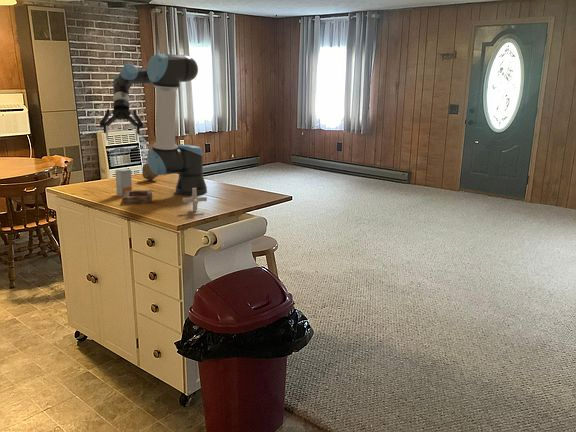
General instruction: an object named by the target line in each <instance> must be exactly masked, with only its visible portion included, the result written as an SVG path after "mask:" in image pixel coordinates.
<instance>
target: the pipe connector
mask: <svg viewBox="0 0 576 432" xmlns="http://www.w3.org/2000/svg"><path fill="white" fill-rule="evenodd" d="M190 196H191V197H183V198H182V203H192V212H193V211H196V210H197V211H198V204H199V202H207V201H208V200H207V199H208V197H207V196H201V197H199V196H198V195H197V188H192V195H190Z"/></svg>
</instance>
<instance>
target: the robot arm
mask: <svg viewBox="0 0 576 432" xmlns="http://www.w3.org/2000/svg"><path fill="white" fill-rule="evenodd" d="M198 73H199V66H198V63H197V62H196V60H195V59H194V58H193V57H191V56H189V55H185V54H167V53H156V54H153V55H152V56H151V57H150V58H149V60H148V62H147V68H138V67H137V66H136V65H135V64H132V63H125V64H124V65H123V66H122V67H121V69H120V71H119V73H118V75H116V76H114V77H113V81H112V87H113V88H112V89H113V95H112V96H113V101H112V102H113V105H112V106H113V110H110V109H109V108H107V109H106V112H105V114H104V116H103V118H102V119H101V120H100V122H99V127H100V128H103V134H105V140H106V141H108V140H109V126H110V125H111V124H112V123H114V122H115V121H116V120H118V121H121V120H122V121H123V120H124V121H125V120H126V121H128V122H129V123H130V124H131V125H133V127H134V128H135V129H134V130H135V141H138V135H139V134H140V133H141V132H140V131H141V130H140V129H143V128H144V123H143V122H142V120H141V119H140V117H139V116H138V114H137V111H136V110H135V109H134V110H131V111H130V89H131V87H132V86H133V84H134V85H139V84H140V85H143V84H144V85H147V84H148V85H152V86H153V87H154V88H155V142H154V143H153V144H152V148H151V150H149V151H148V152H147V156H146V159H147V163H148V165H149V167H150V169H151V171H152V172H153V173H154V174H156V175H158V176H166V175H173V174H178V179H177V183H176V185H175V194H178V195H181V196H192V188H197V196H198V195H204V194H206V193H207V192H208V187H207V184H206V182H205V178H204V166H203V165H204V164H203V162H204V161H203V160H204V159H203V157H204V154H203V149H202V147H201V146H199V145H198V146H197V145H191V144H176V110H177V109H176V108H177V107H176V106H177V102H176V99H177V90H178V89H179V88H180V83H186V82H187V83H188V82H191V81H193V80H194V79H196V77H197V76H198ZM111 115H112V116H111ZM110 116H111V117H110ZM132 116H133V117H132ZM133 118H134V119H135V120H134V119H133Z"/></svg>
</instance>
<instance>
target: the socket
mask: <svg viewBox="0 0 576 432" xmlns="http://www.w3.org/2000/svg"><path fill="white" fill-rule="evenodd" d="M122 199H123V205H139V203H145V204H152V203H153V190H152V189H141V190H140V189H138V190H133V189H132V191H125V194H124V195H123V196H122Z"/></svg>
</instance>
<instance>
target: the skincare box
mask: <svg viewBox="0 0 576 432" xmlns="http://www.w3.org/2000/svg"><path fill="white" fill-rule="evenodd" d="M114 172H115V188H116V195H118V196H121V197H124V194H125V191H132V190H133V188H132V184H133V183H132V181H133V180H132V170H131V169H130V168H129V169H128V168H121V169H120V168H119V169H116V170H115V171H114Z"/></svg>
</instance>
